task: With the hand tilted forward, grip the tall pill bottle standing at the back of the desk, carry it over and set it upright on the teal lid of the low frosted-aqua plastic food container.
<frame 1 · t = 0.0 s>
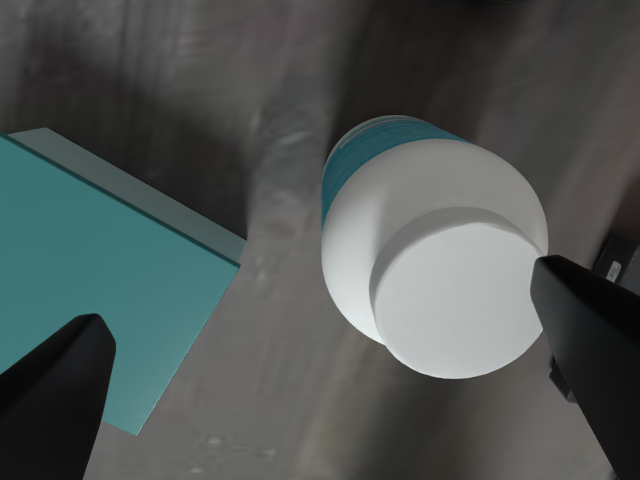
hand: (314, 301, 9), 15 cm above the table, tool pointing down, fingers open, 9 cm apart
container: (109, 270, 26), on the table
pill bottle: (389, 183, 24), on the table
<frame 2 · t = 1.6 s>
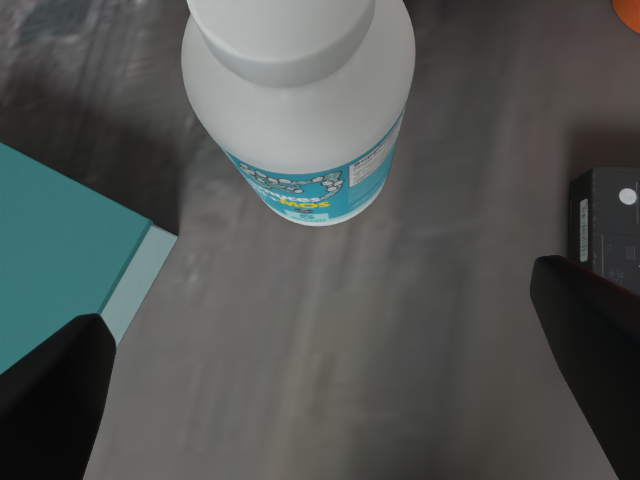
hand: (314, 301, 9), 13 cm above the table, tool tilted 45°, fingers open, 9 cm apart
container: (31, 286, 24), on the table
pill bottle: (320, 164, 24), on the table
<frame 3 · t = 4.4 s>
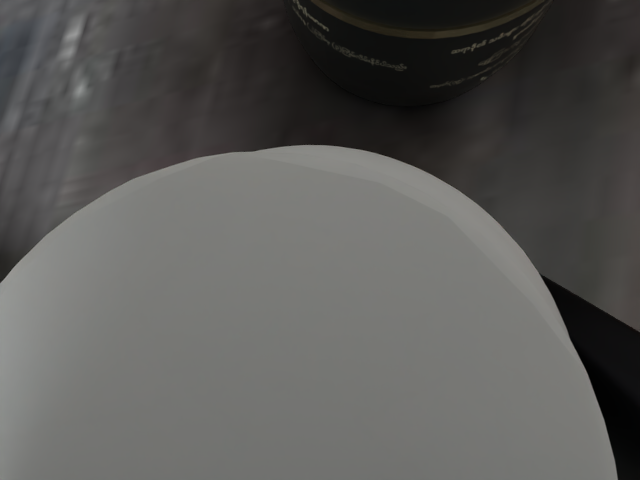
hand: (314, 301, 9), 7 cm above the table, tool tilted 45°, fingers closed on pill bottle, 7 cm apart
pill bottle: (335, 347, 16), on the table, touching gripper
jar: (406, 13, 18), on the table
when the fingers open (11 cm above the table, at t = 11.1 s): pill bottle stays where it is, resting on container.
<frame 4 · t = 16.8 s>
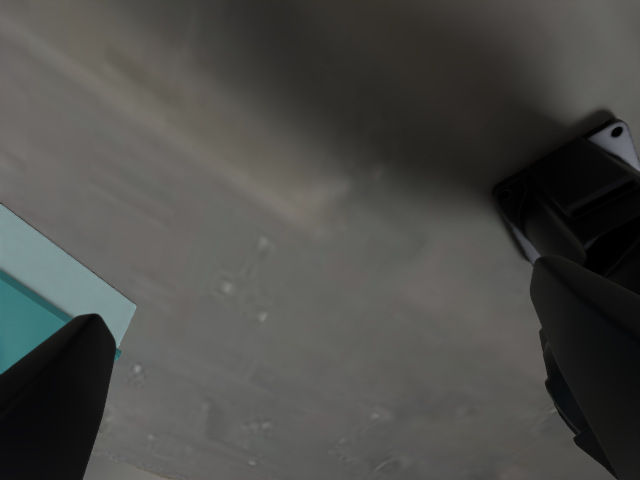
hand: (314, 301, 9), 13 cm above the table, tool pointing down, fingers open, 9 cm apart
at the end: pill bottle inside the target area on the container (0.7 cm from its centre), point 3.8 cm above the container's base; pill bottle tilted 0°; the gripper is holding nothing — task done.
